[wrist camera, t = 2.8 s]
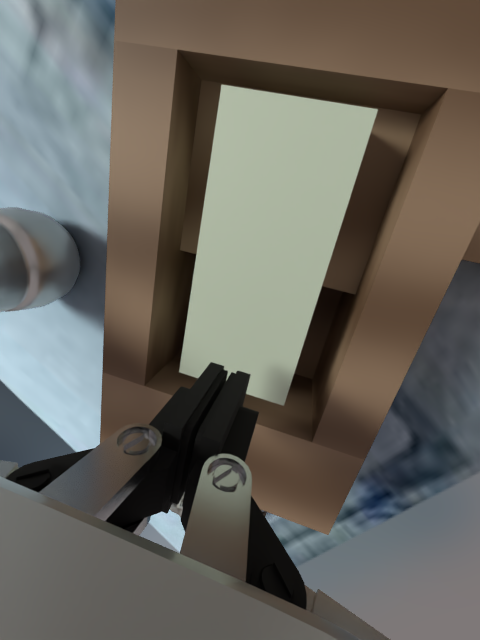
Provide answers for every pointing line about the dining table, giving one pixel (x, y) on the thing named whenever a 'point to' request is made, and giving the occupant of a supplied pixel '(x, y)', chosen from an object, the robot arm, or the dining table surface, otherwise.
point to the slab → (269, 231)
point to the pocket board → (401, 251)
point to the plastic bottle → (34, 259)
